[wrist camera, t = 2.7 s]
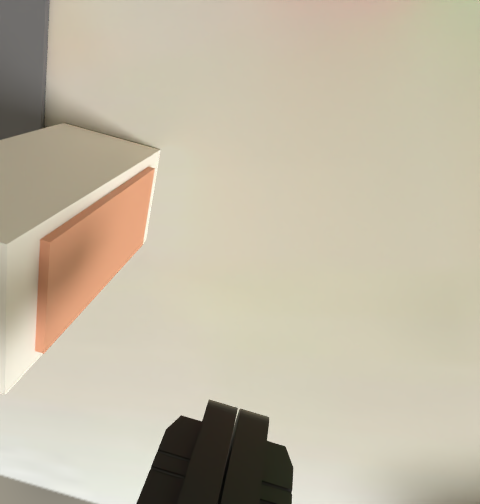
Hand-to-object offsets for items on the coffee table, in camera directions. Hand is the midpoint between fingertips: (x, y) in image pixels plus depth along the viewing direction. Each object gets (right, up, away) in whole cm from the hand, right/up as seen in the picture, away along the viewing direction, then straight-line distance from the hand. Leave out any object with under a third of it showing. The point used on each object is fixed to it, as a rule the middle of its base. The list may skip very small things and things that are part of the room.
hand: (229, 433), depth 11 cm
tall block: (-7, +8, +12) cm, 16 cm away
